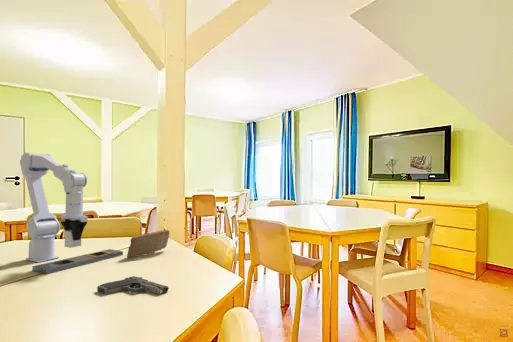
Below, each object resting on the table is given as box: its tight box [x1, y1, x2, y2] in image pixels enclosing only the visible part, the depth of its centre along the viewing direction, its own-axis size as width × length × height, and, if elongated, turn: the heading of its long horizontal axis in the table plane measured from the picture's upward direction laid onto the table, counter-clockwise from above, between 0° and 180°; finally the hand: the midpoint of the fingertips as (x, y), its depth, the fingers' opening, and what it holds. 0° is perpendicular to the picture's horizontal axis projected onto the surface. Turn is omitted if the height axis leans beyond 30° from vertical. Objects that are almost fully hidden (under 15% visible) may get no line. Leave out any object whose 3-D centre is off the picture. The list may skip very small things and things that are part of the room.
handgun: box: [96, 275, 170, 296], centre depth 85 cm, size 2×17×12 cm
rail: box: [31, 248, 124, 275], centre depth 116 cm, size 9×30×2 cm, turn 152°
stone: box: [126, 229, 170, 259], centre depth 128 cm, size 19×10×4 cm
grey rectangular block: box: [64, 230, 82, 249], centre depth 113 cm, size 4×4×6 cm
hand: (73, 239), depth 113 cm, fingers closed on grey rectangular block, 4 cm apart
